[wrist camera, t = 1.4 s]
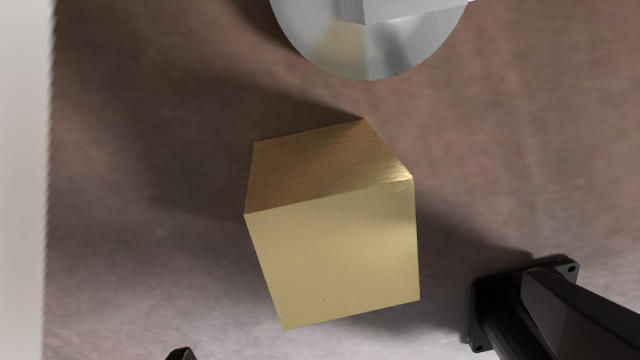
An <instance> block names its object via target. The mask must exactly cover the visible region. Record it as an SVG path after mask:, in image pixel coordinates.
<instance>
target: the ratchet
mask: <svg viewBox="0 0 640 360" xmlns="http://www.w3.org/2000/svg"><path fill="white" fill-rule="evenodd" d="M468 1H473V0H270V3H271V7H272V9H273V12H274V14H275V16H276V19H277V21H278V23H279V25H280V27H281V28H282V30H283V32H284V34H285V35H286V37H287V38H288V39H289V41H290V42H291V43H292V45H293V46H294V47H295V48H296V49H297V50H298V51H299V52H300V53H301V54H302V56H304V57H305V58H306V59H307V60H309V61H310V62H311V63H312V64H314V65H315V66H317V67H319V68H320V69H322V70H323V71H326V72H328V73H330V74H332V75H335V76H338V77H341V78H345V79H350V80H357V81H373V80H380V79H386V78H389V77H393V76H396V75H398V74H401V73H403V72H405V71H408V70H409V69H411V68H413V67H415V66H416V65H418V64H420V63H421V62H422V61H424V60H425V59H426V58H428V57H429V56H430V55H431V54H432V53H433V52H434V51H435V50H436V49H437V48H439V47H440V45H441V44H442V43H443V42H444V41H445V40H446V38H447V37H448V36H449V35H450V33H451V32H452V30H453V29H454V27H455V26H456V24H457V23H458V21H459V19H460V17H461V15H462V13H463V12H464V9H465V7H466V5H467V4H468Z"/></svg>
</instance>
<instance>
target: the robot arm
mask: <svg viewBox="0 0 640 360" xmlns="http://www.w3.org/2000/svg"><path fill="white" fill-rule="evenodd" d="M579 268H580V265H579V264H578V263H577V262H576V261H575V260H574V259H571V258H568V259H563V260H559V261H555V262H550V263H546V264H541V265H537V266H533V267H528V268H524V269H519V270H515V271H511V272H506V273H502V274H497V275H493V276H489V277H484V278H480V279H477V280H476V281H474V282H473V284H472V291H471V313H470V336H469V346H470V348H471V350H472V351H473V352H474V353H481V352H485V351H489V350H495V352H496V354H497V355H498V357H499V358H500V360H640V314H638V313H636V312H634V311H632V310H630V309H628V308H625V307H623V306H621V305H619V304H617V303H615V302H613V301H611V300H608V299H606V298H604V297H602V296H600V295H598V294H596V293H594V292H591V291H589V290H587V289H585V288H583V287H581V286H579V285H576V280H577V276H578V272H579ZM165 360H197V359H196V357H195V355H194V353H193V351H192V350H191V348H190V347H182V348H178V349H174V350H173V351H172V352H171V353H170V354H169V355H168V356H167V358H166V359H165Z"/></svg>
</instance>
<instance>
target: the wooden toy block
mask: <svg viewBox="0 0 640 360" xmlns="http://www.w3.org/2000/svg"><path fill="white" fill-rule="evenodd" d="M243 215H244V218H245V221H246V224H247V227H248V230H249V233H250V236H251V239H252V242H253V245H254V248H255V250H256V253H257V256H258V259H259V262H260V265H261V268H262V271H263V274H264V277H265V280H266V283H267V286H268V288H269V291H270V294H271V297H272V300H273V303H274V306H275V309H276V312H277V315H278V318H279V321H280V323H281V326H282V329H283V331H285V330H290V329H294V328H298V327H303V326H307V325H312V324H316V323H320V322H325V321H329V320H334V319H338V318H342V317H347V316H351V315H355V314H360V313H364V312H369V311H373V310H377V309H382V308H386V307H391V306H395V305H399V304H404V303H408V302H413V301H417V300H420V288H419V270H418V251H417V233H416V215H415V196H414V178H413V177H412V175H411V174H410V173H409V172H408V171H407V169H406V168H405V167H404V166H403V165H402V163H401V162H400V161H399V160H398V159H397V157H396V156H395V155H394V154H393V152H392V151H391V150H390V149H389V148H388V146H387V145H386V144H385V143H384V142H383V140H382V139H381V138H380V137H379V136H378V134H377V133H376V132H375V131H374V130H373V128H372V127H371V126H370V125H369V124H368V122H367V121H366V120H365V119H360V120H355V121H350V122H345V123H341V124H336V125H331V126H327V127H322V128H317V129H313V130H308V131H303V132H298V133H294V134H289V135H284V136H280V137H275V138H270V139H265V140H261V141H256V142H254V148H253V154H252V161H251V167H250V174H249V181H248V187H247V194H246V200H245V207H244V214H243Z"/></svg>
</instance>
